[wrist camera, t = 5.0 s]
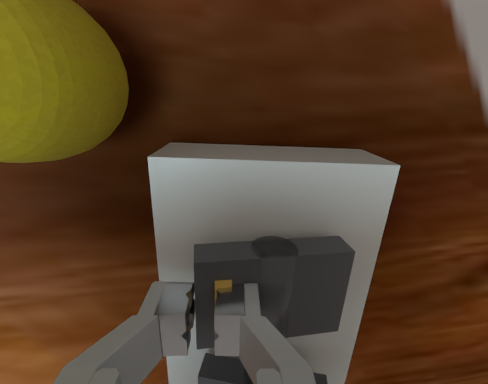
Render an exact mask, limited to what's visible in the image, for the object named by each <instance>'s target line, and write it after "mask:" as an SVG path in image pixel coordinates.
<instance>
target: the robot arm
mask: <svg viewBox="0 0 488 384" xmlns="http://www.w3.org/2000/svg"><path fill="white" fill-rule="evenodd" d="M194 292H195V289H194V282H170V281H168V282H163V281H154V282H153V283H152V284H151V286H150V288H149V290H148V292H147V295H146V297H145V299H144V301H143V303H142V305H141V307H140V310H139V312H138V314H137V315H132V316H131V317H130V318H128V319H127V320H126V321H124V322H123V323H122V324H120V325H119V326H118V327H116V328H115V329H114V330H112V331H111V332H109V333H108V334H107V335H105V336H104V337H103V338H101V339H100V340H99V341H97V342H96V343H95V344H93V345H92V346H91V347H89V348H88V349H87V350H85V351H84V352H83V353H81V354H80V355H79V356H77V357H76V358H75V359H73V360H72V361H71V362H69V363H68V364H67V365H65V366H64V367H63V368H62V370H61V371H60V373H59V374H58V376H57V377H56V379H55V381H54V382H53V384H141V383H142V382H143V380H144V379H145V378H146V377H147V376H148V374H149V373H150V372H151V371H152V370H153V369H154V367H155V366H156V365H157V364H158V363H159V361H160V360H161V359H162V356H187V355H188V350H189V345H190V340H191V329H192V328H193V325H194V319H195V299H194V298H193V297H194ZM214 331H215V340H214V345H215V356H239V359H240V361H241V362H242V364H243V366H244V368H245V369H246V371H247V373H248V375H249V377H250V378H251V380H252V382H253V384H316V382H315V378H314V374H313V371H312V367H311V366H310V365H309V364H308V363H307V362H306V361H305V360H304V359H303V358H302V356H301V355H300V354H299V353H298V352H297V351H296V350H295V349H294V348H293V346H292V345H291V344H290V343H289V342H288V341H287V340H286V339H285V338H284V337H283V335H282V334H281V333H280V332H279V331H278V330H277V329H276V328H275V327H274V325H273V324H272V323H271V322H270V321H269V320H268V319H267V318H266V317H265V316H261V310H260V301H259V292H258V284H257V283H245V284H244V283H238V284H232V287H227V288H217V299H216V303H215V313H214Z"/></svg>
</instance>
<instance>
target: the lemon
mask: <svg viewBox="0 0 488 384" xmlns="http://www.w3.org/2000/svg"><path fill="white" fill-rule="evenodd" d="M128 93H129V86H128V79H127V72H126V69H125V67H124V64H123V61H122V59H121V56H120V53H119V51H118V50H117V48H116V47H115V45H114V44H113V42H112V40H111V39H110V37H109V36H108V34H107V33H106V31H105V30H104V29H103V28H102V27H101V26H100V25H99V24H98V23H97V22H96V21H95V20H94V19H93V18H92V17H91V16H90V15H89V14H88V13H87V12H86V11H85V10H84V9H83V8H82V7H80V6H79V5H78V4H76V3H75V2H73V1H72V0H0V162H8V163H29V162H43V161H55V160H61V159H65V158H68V157H71V156H74V155H77V154H80V153H83V152H86V151H88V150H90V149H92V148H94V147H95V146H97V145H98V144H99V143H101V142H102V141H104V140H105V139H106V138H108V137H109V136H110V135H111V134H112V133H113V131H114V130H115V129H116V127H117V126H118V125H119V123H120V122H121V121H122V118H123V116H124V113H125V110H126V108H127V104H128Z"/></svg>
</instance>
